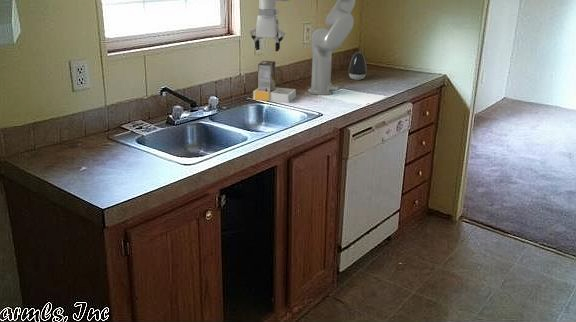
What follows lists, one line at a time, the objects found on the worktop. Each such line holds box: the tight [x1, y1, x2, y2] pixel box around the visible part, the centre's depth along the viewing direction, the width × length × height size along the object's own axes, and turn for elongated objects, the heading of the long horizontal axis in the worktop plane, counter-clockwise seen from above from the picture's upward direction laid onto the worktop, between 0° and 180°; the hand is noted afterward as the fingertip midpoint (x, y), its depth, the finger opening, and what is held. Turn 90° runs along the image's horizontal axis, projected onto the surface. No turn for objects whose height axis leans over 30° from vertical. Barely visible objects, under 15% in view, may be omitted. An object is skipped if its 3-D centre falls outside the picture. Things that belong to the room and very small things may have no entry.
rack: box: [252, 86, 297, 104], centre depth 259 cm, size 18×13×4 cm
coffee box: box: [257, 60, 276, 93], centre depth 259 cm, size 9×6×16 cm
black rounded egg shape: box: [347, 51, 367, 81], centre depth 303 cm, size 10×10×15 cm
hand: (267, 50), depth 254 cm, fingers open, 9 cm apart
